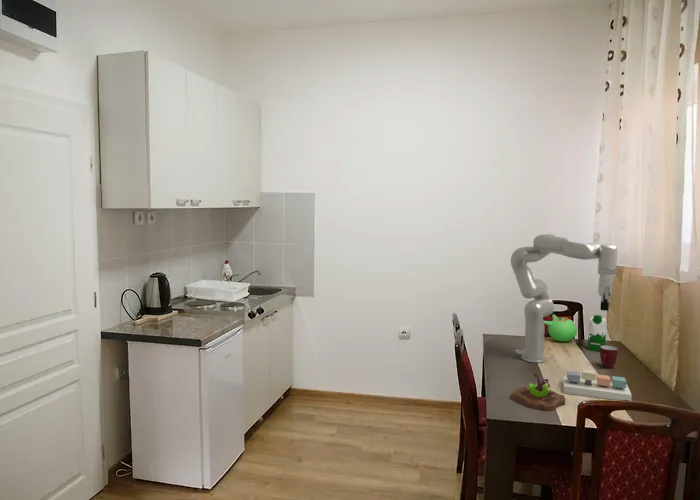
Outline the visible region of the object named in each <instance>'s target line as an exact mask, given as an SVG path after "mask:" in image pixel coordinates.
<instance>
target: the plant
mask: <svg viewBox="0 0 700 500" xmlns="http://www.w3.org/2000/svg"><path fill="white" fill-rule="evenodd" d="M531 377H532V378H536V379H537V380H536V381H537V382H536V383H535V384H533V382H530V383H529V385H528V386H523V387H519V388H516V389H515V390H514V391H512V392H511V394H510V398H511V399H512V400H514V401H516V402H518V403H520V404H522V405H524V406H526V407H527V408H532V409H534V410H542V411H546V412H552V411H555V410H557V409H558V408H559V407H562V406H565V405H566V397H565V395H563V394H559V393H558V392H556V391H553V390H552V389H551V387H552V386H551V384H549V382H550V379H548V378H544V379H543V380H542V381H541V379H540V377H539V375H538V374H537V373H531Z"/></svg>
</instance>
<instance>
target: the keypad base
mask: <svg viewBox="0 0 700 500" xmlns="http://www.w3.org/2000/svg"><path fill="white" fill-rule="evenodd" d="M562 388H563V389H562V390H563V393H564V394H569V395H570V394H571V395H577V396H584V397H591V398H598V399H606V400H614V401H620V400H629V401H631V402H632V396H633V394H632V393H631V390H630V388H629V386H628V384H626V388H622V389H615V387H613V385H612V381H611V386H607V388H606V387H600V385H598V384H597V381H596V379H595V381H593V380H592V382H591V385H585V379H582V377H580V382H576V384H575V383H570V381H567V375H563V376H562Z"/></svg>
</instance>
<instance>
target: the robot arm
mask: <svg viewBox="0 0 700 500" xmlns="http://www.w3.org/2000/svg"><path fill="white" fill-rule="evenodd" d="M532 243H533V246H524V247H523V246H522V247H519V248H517V249H515V250H514V251H513V252H512V254H511V256H510V266H511V269H512V270H513V273H514V275H515V278H516V282H517V284H518V287H519V290H520V291H519V292H520V293H521V295H522V297H523V298H525V299H532V300H530V301H528V302H527V303H526V304H525V306H524V308H523V309H524V320H525V328H524V329H525V330H524V348H523V349H518V348H517V349H515V354H517V355H521V356H520V359H522V360H523V361H525V362H529V363H537V364H538V363H540V364H541V363H544V362H547V357H546V356H545V355H544V350H545V349H544V347H545V330H546V329H545V323H544V321H545V320H544V319H543V318H544V317H548V316H551V315H553V313H554V310H555V304H554V302H553V299H552V296H551V293H550V290H549V288H548V287H549V286H548V285H547V284H546V283H545V281H544V280H542V279H538V278H536V279H535V277H534V275H533V272H532V270H531V268H530V267H529V266H528V263H537V262H539V261H542V260H543V259H544V258H545V257H547V256H548V255H549V254H556V255H561V256H564V257H567V258H572V259H577V260H578V259H579V260H584V261H586V260H596V259H598V266H597V267H598V268H597V275H599V278H598V289H597V293H598V296H600V297H601V298H600V299H601V300H600V311H604V312H605V311H607V312H608V311H609V309H610V308H609V307H610V301H609V300H610V297H612V293H613V282H614V280H613V279H614V276H616V275H617V266H618V265H617V263H618V262H617V261H618V250H619V249H618V246H617V245H616V244H615V245H614V244H601V243H598V242H589V243H580V242H574V241H569V239H568V238H566V237H562V236H561V237H560V236H556V235H554V234H552V233H550V234H547V233H546V234H538V235H537V236H535V237H534V239H533V241H532ZM533 299H534V300H533Z"/></svg>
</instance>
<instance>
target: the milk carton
mask: <svg viewBox="0 0 700 500" xmlns="http://www.w3.org/2000/svg"><path fill="white" fill-rule="evenodd" d="M607 324H608V323H607V318H604V317H603V316H602V315H599V314H594V315H593V316H591V317H590V318H589V322H588V330H587V331H588V332H587V333H588V335H587V344H588V345H587V346H588V351H592V352H597V353H598V352H599V353H600V346H606V341H607V339H606V338H607V327H608V326H607Z"/></svg>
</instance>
